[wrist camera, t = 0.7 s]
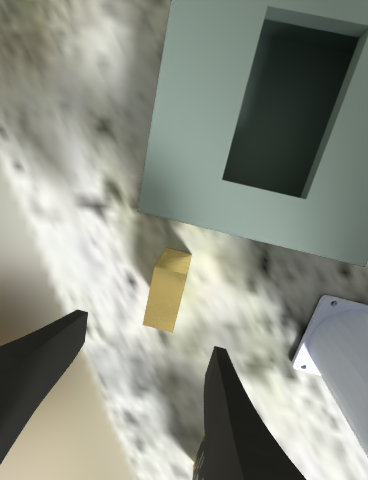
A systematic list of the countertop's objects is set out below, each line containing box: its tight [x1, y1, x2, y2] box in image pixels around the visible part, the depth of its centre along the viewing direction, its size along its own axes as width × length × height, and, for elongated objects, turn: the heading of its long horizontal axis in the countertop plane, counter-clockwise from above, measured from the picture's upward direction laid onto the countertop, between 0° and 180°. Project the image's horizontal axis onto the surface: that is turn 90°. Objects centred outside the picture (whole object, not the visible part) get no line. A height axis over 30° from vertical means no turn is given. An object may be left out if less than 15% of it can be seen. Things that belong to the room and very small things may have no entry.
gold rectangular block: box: [143, 248, 192, 333], centre depth 18 cm, size 2×5×4 cm, turn 167°
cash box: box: [137, 0, 368, 267], centre depth 14 cm, size 13×13×6 cm
